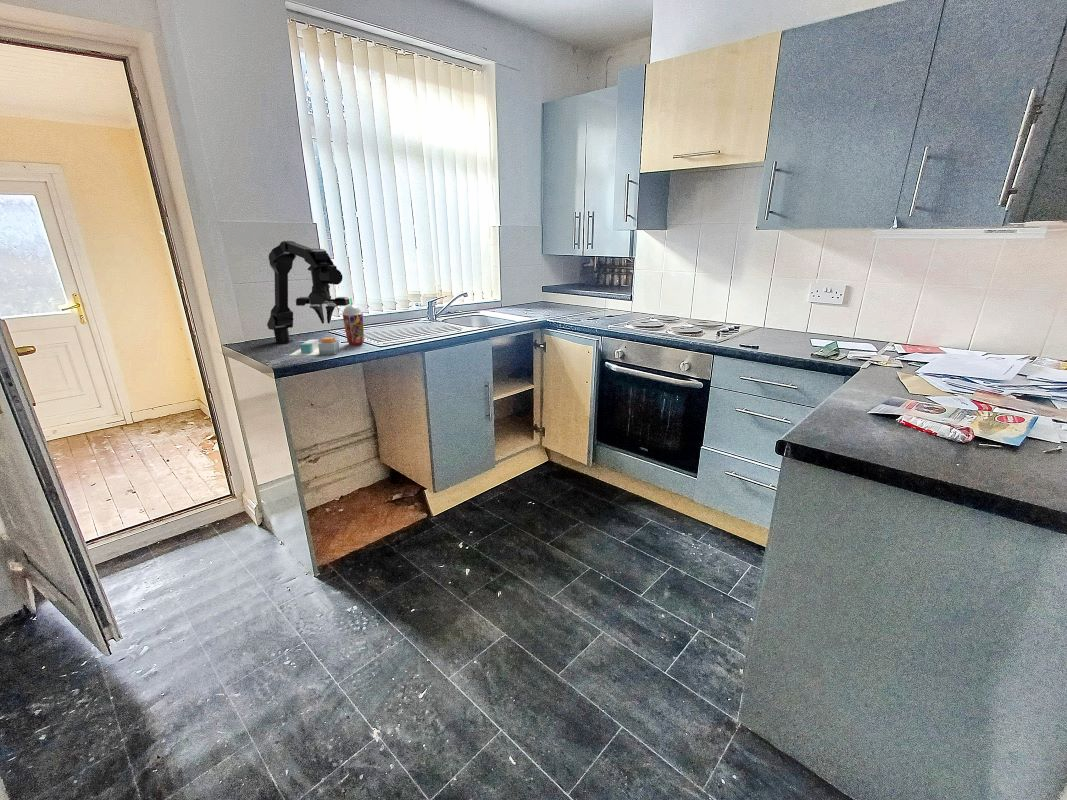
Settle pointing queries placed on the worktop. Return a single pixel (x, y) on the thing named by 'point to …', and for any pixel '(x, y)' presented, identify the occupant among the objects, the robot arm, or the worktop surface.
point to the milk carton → (309, 346)
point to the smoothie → (353, 324)
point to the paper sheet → (305, 353)
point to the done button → (328, 340)
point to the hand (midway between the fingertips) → (325, 323)
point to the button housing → (329, 348)
